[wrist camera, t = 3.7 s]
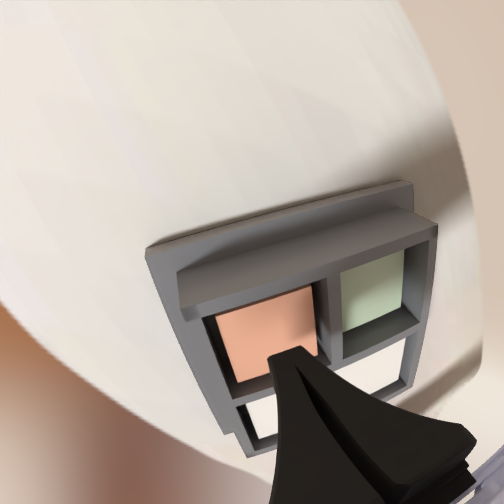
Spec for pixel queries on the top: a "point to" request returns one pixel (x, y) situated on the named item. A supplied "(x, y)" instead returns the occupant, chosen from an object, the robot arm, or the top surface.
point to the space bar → (358, 374)
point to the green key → (371, 290)
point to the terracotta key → (267, 330)
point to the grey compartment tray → (292, 276)
